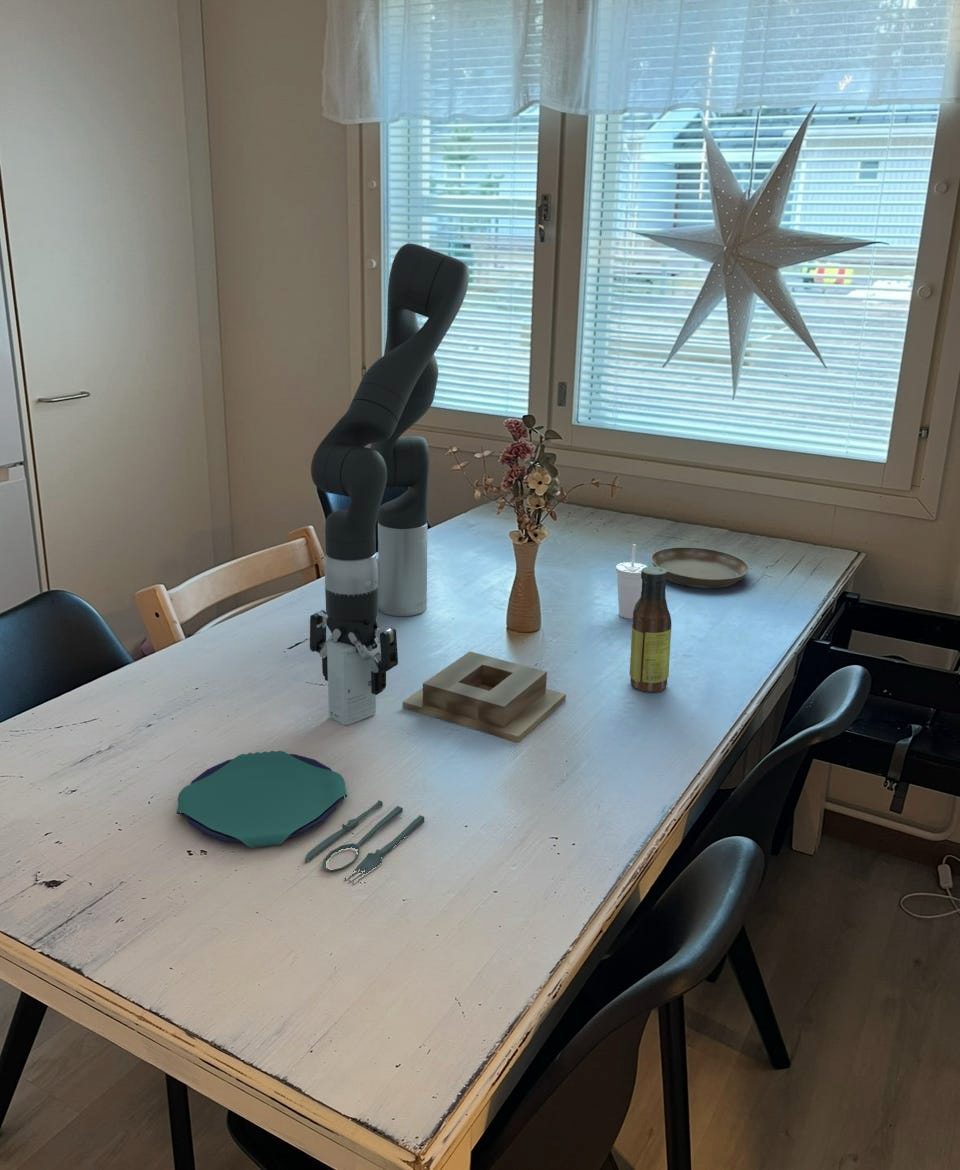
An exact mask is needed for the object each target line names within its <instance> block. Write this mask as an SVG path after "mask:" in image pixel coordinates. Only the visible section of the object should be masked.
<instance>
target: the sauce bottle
mask: <svg viewBox="0 0 960 1170" xmlns="http://www.w3.org/2000/svg"><path fill="white" fill-rule="evenodd" d="M641 578H642V591H641V597H640V599H639V600H638V602H637V603H636V605H635V607H634V610H633V619H632V623H631V637H630V638H631V640H630V641H631V642H630V657H629V658H630V659H629V662H630V663H629V676H630V685H631V686H632V687H633V688H634V689H637V690H639V691H641V692H648V693H654V692H655V693H656V692H661V691H663V690H664V689H666V688H667V686H668V679H669V675H670V674H669V672H670V654H671V641H672V640H671V638H672V618H671V613H670V611H669V607H668V603H667V598H666V587H667V586H666V585H667V580H668V579H667V570H666V569H664V568H661V567H654V566H648V567H645V568H643V569H642V571H641Z"/></svg>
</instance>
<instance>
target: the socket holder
mask: <svg viewBox="0 0 960 1170" xmlns="http://www.w3.org/2000/svg"><path fill="white" fill-rule="evenodd" d="M547 676H548V671H546V670H542V669H538V668H534V667H530V666H527V665H523V664H520V663H519V664H518V663H515V662H513V661H512V662H511V661H509V660H503V659H500V658H496V657H492V656H489V655H485V654H481V653H477V652H474V651H469V652H467V653H465V654H464V655H461V657H460V658H458V659H457V660H455V661H454V662H452V663H450V664H449V665H448V666H446V667H444V668H443V669H441V670H440V671H439V672H437V673H436V674H434V675H433V676H431V677H430V678H428V679H427V680H426V681H424V682H423V683H422V688H421V689H419V690H418V691H416V692H415V693H413V694H412V695H410V696H409V697H407V698H406V699H405V700H403V701H402V708H403V709H405V710H406V709H407V710H409V711H412V712H415V713H419V714H423V715H426V716H429V717H431V718H436V719H439V720H442V721H446V722H448V723H452V724H455V725H459V726H462V727H465V728H469V729H471V730H475V731H479V732H482V733H485V734H488V735H492V736H495V737H499V738H501V739H505V740H507V741H512V742H515V743H519V742H521V740H523V739H524V738H525V737H526V736H527V735H528V734H529V733H531V731H533V730H534V729H535V728H536V727H537V726H538V725H539V724H540V723H541V722H543V721H544V720H545V719H546V718H548V716H549V715H551V714H552V713H553V712H554V711H555V710H556V709H557V708H558V707H559V706H560V705H562V703H563V702H565V700H566V698H567V697H566V696H567V694H566V693H564V692H560V691H556V690H551V689H548V688H547V680H548V679H547V678H548V677H547Z"/></svg>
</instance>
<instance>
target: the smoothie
mask: <svg viewBox="0 0 960 1170" xmlns="http://www.w3.org/2000/svg"><path fill="white" fill-rule="evenodd" d="M636 547H637V544H635V543H633V544H632V550H631V561H629V562H627V561H626V562H620V563H618V564H616V566H615V573H616V578H617V579H616V580H617V581H616V583H617V600H618V603H617V604H618V616H619V617H620V618H623V617H624V619H628V618H629V620H630V619H631V618H632V620H633V610H634V607H635V605H636V603H637V602H638V600H639V599H640V597H641V591H642V578H641V571H642V569H643V568H645V567H649V566H647V565H646V564H643V563H639V562H635V560H636Z"/></svg>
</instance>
